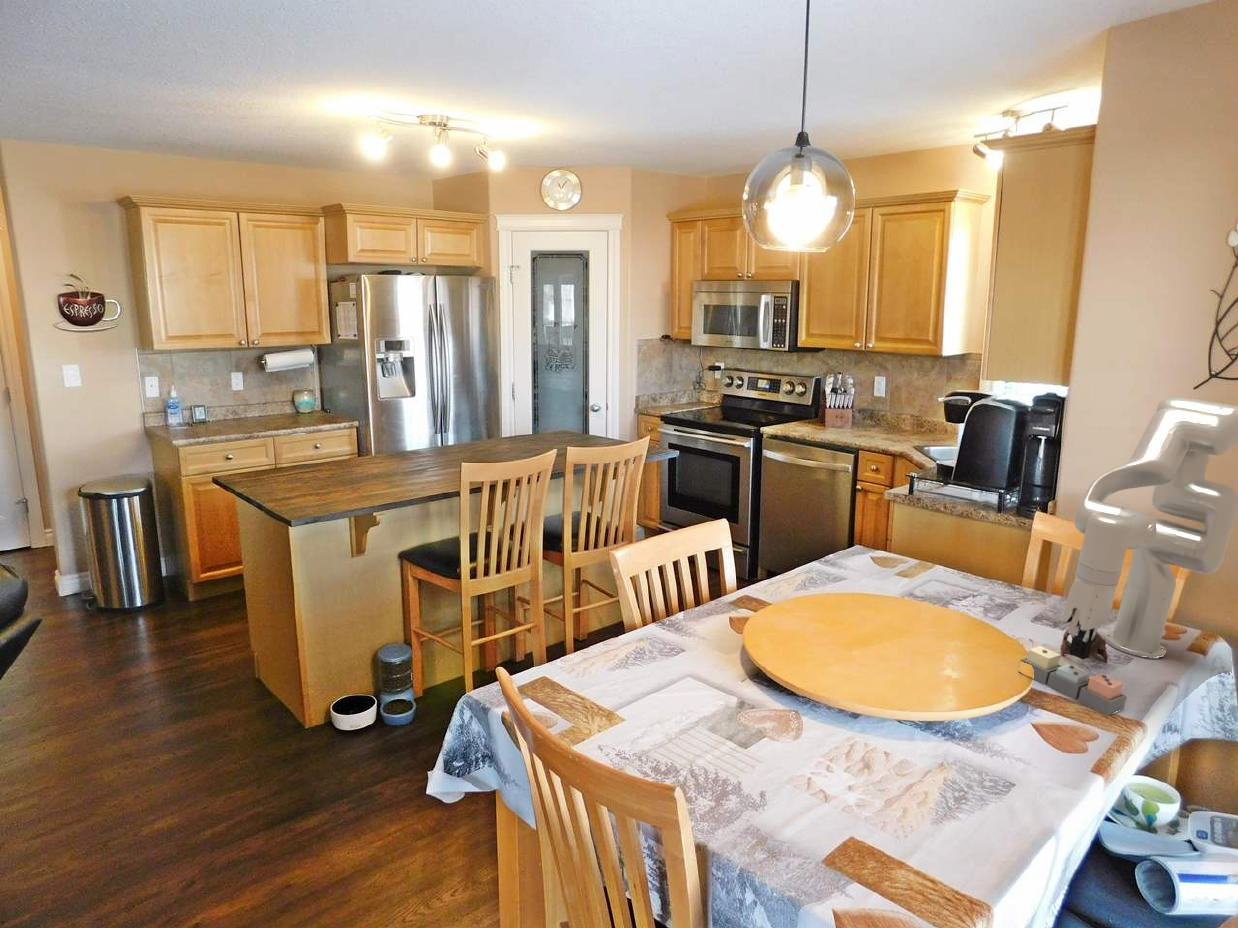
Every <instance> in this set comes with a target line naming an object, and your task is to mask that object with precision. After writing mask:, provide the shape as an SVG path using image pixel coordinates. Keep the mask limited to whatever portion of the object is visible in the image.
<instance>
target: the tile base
mask: <svg viewBox="0 0 1238 928" xmlns="http://www.w3.org/2000/svg"><path fill="white" fill-rule="evenodd" d="M1087 687H1088V685H1087V686H1085V687H1082V688H1081V690H1080V694H1079V698H1078V699H1077V702H1079V703H1080V704H1083V705H1084V706H1087V707H1089V708H1091V709H1092V710H1094V711H1096V712H1099V713H1100V714H1103V715H1105V714H1106V715H1105V716H1107V715H1109V716H1111V715H1110V714H1112V713H1114V712H1116V711H1119V710H1121V709H1123V708H1124V709H1125V705H1126V701H1127V697H1128V696H1127V695H1126V694H1124V693H1121V696H1120V697H1118V698H1115V699H1113V700H1108V699H1106V698H1104V697H1101V696H1099V695H1097V694H1095V693H1093V692H1091V691H1089V690H1087ZM1124 709H1123V710H1124ZM1121 711H1122V710H1121ZM1119 712H1120V711H1119ZM1116 713H1117V712H1116ZM1114 714H1115V713H1114ZM1112 715H1113V714H1112Z"/></svg>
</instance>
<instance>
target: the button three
mask: <svg viewBox="0 0 1238 928" xmlns="http://www.w3.org/2000/svg"><path fill="white" fill-rule="evenodd" d="M1123 688H1124V682H1121V681H1119V680H1117V679H1114V678H1112V677H1110V676H1108V675H1106V674H1103V673H1099V674H1096V675H1093V676H1091V677H1090V676H1089V683H1088V687H1087V690H1089V691H1091V692H1093V693H1095V694H1097V695H1099V696H1101V697H1104V698H1106V699H1108V700H1113V699H1115V698H1118V697H1120V696H1121V694H1122V693H1123Z"/></svg>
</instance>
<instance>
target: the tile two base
mask: <svg viewBox="0 0 1238 928" xmlns="http://www.w3.org/2000/svg"><path fill="white" fill-rule="evenodd" d="M1056 672H1057V671H1055V672H1052V673H1050V675H1049V680H1048V684H1046V686H1047V687H1048V688H1050V689H1052V690H1054V691H1056V692H1057V693H1058V692H1059V693H1060V694H1062V695H1064V696H1066V697H1068V698H1070V699H1072V700H1074V701H1076V700H1078V698H1079V694H1080V690H1081V688H1082V687H1085V686H1087V685H1088V683H1089V679H1090V678H1089V679H1088V681H1087V682H1084V683H1082V684H1079V685H1076V684H1074V683H1072V682H1070V681H1068V680H1066V679H1064V678H1062V677H1060V676H1058V675H1056Z"/></svg>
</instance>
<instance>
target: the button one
mask: <svg viewBox="0 0 1238 928" xmlns="http://www.w3.org/2000/svg"><path fill="white" fill-rule="evenodd" d="M1026 657H1027V661H1028V662H1031V663H1032V664H1035V665H1037V666H1039V667H1041V668H1043V669H1045V670H1049V669H1052V668H1055V667H1058V664H1059V663H1060V659H1061V654H1060V653H1057V652H1055V651H1053V650H1051V649H1048V648H1046V647H1044V646H1042V645H1039V646H1036V647H1032V648H1029V649H1028V653H1027V656H1026Z"/></svg>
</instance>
